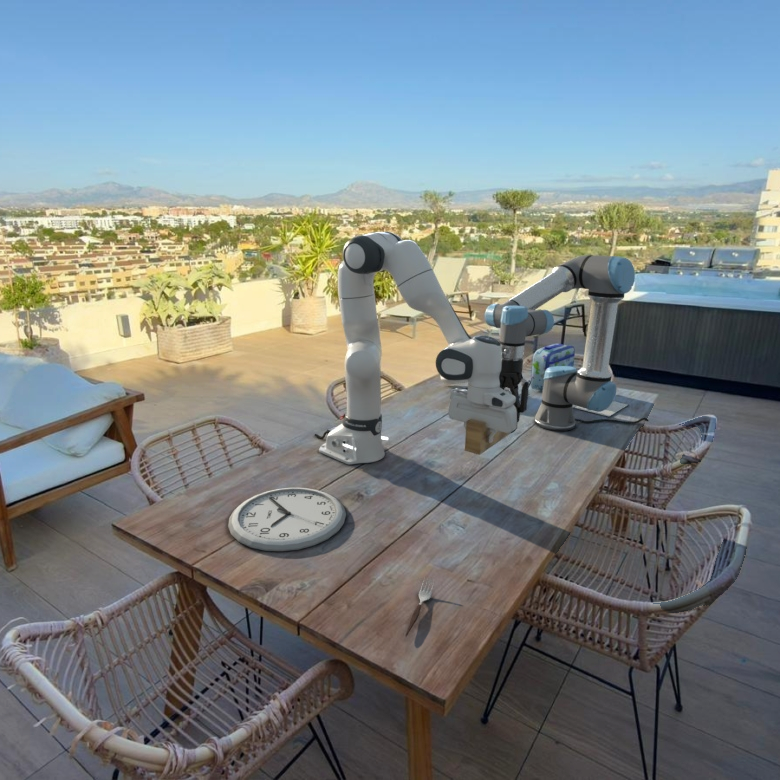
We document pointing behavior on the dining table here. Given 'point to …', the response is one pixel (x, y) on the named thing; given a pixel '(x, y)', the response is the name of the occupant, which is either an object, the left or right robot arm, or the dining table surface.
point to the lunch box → (550, 361)
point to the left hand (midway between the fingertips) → (479, 439)
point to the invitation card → (609, 411)
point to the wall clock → (287, 519)
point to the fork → (423, 597)
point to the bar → (480, 436)
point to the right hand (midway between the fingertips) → (504, 429)
